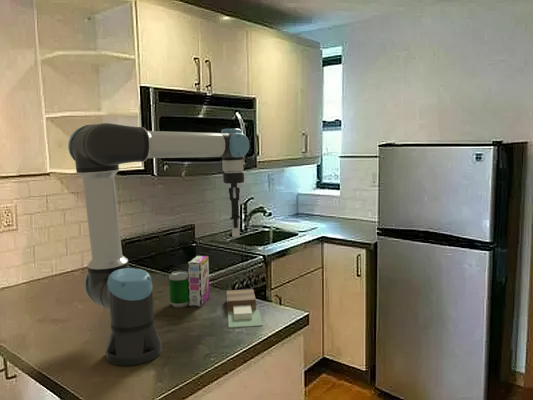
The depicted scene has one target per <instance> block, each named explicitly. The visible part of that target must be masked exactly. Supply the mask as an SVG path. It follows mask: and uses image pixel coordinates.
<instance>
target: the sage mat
mask: <svg viewBox="0 0 533 400" xmlns="http://www.w3.org/2000/svg"><path fill="white" fill-rule="evenodd" d="M227 321H228V324H227V325H228V329H234V328H235V329H236V328H249V327H250V328H251V327H263V326H264V323H263V321H262V316H261V312H260V309H256V310H252V319H240V320H234V311H228V310H227Z"/></svg>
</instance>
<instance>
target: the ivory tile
mask: <svg viewBox="0 0 533 400" xmlns="http://www.w3.org/2000/svg"><path fill="white" fill-rule="evenodd" d="M233 309H234V320H240V319H252V310H251V305H238V306H233Z"/></svg>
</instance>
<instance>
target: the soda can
mask: <svg viewBox="0 0 533 400" xmlns="http://www.w3.org/2000/svg"><path fill="white" fill-rule="evenodd" d="M168 279H169V280H168V284H169V285H168V286H169V300H170V301H169V302H170V304H171V305H172V307H174V308H184V307H188V306H189V279H188V271H185V270H177V271H176V270H175V271H172V272H171V274H170V275H168Z"/></svg>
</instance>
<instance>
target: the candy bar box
mask: <svg viewBox="0 0 533 400" xmlns="http://www.w3.org/2000/svg"><path fill="white" fill-rule="evenodd" d="M209 260H210V259H209V256H208V255H196V256H195V257H193V258H192V259H191V260H190V261H188V262H187V267H188V268H187V273H188V279H189V305H188V306H189V307H197V308H198V307H203V305H204V304H205V303H206V302H207V300H208V299H209V298H210V268H209V267H210V265H209V262H210V261H209Z"/></svg>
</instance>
